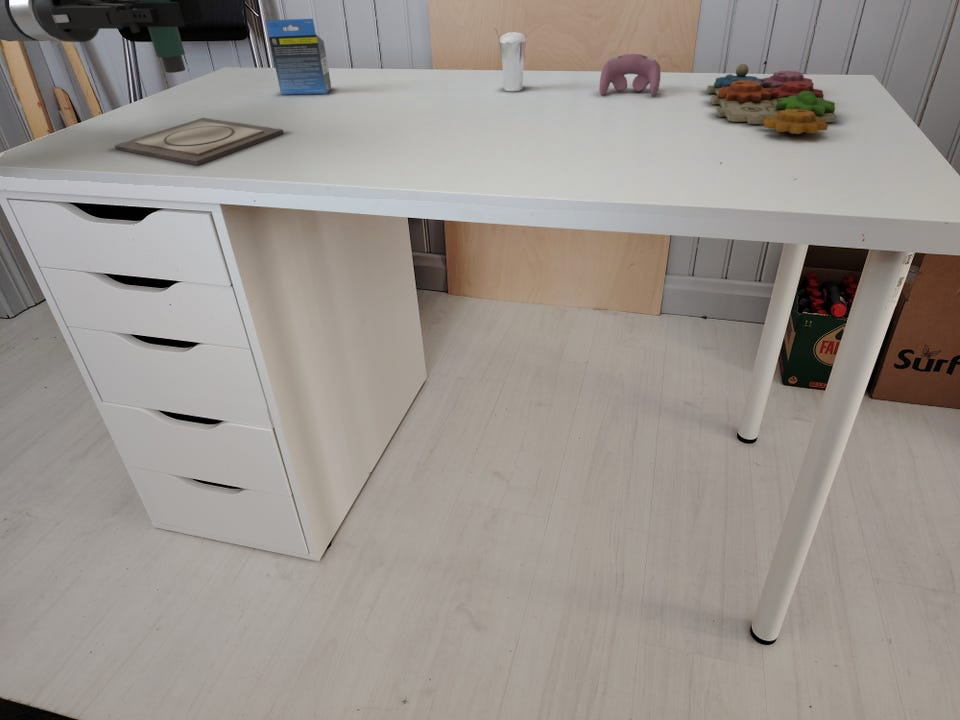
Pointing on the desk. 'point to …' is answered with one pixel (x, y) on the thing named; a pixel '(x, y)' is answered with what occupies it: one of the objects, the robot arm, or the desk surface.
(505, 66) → the milkshake
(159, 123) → the desk surface
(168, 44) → the marker
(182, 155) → the picture frame
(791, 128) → the gear puzzle
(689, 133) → the desk surface
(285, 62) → the tape cartridge
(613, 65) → the video game controller
